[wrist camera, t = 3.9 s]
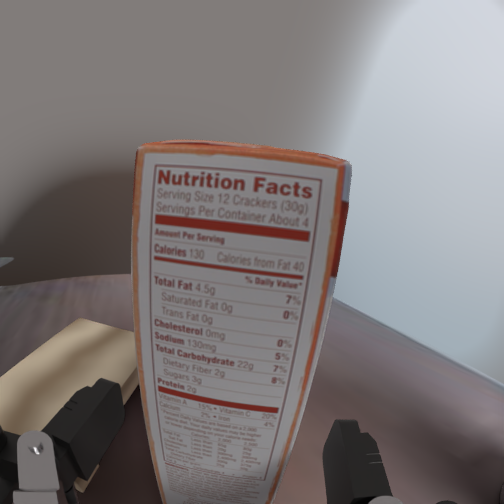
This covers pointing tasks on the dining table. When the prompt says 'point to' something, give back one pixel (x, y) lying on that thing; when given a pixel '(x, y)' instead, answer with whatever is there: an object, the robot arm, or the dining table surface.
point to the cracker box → (230, 307)
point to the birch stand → (66, 375)
